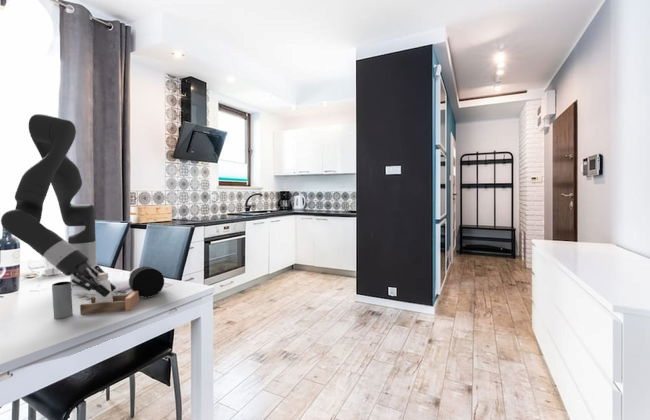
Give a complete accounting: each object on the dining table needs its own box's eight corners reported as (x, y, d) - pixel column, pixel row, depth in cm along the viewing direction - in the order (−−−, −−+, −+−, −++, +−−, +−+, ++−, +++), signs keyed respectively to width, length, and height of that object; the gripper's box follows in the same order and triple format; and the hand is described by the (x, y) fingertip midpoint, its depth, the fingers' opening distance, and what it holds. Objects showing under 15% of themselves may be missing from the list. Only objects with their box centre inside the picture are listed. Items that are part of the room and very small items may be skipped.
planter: (54, 315, 99) (52, 283, 99) (72, 312, 102) (71, 280, 101) (53, 320, 96) (51, 286, 95) (72, 316, 98) (70, 283, 98)
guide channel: (80, 314, 100) (79, 301, 100) (92, 305, 108) (91, 294, 107) (130, 310, 103) (130, 298, 103) (138, 302, 111) (138, 290, 111)
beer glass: (38, 276, 147) (36, 243, 146) (50, 272, 154) (48, 241, 153) (54, 275, 147) (52, 243, 146) (65, 271, 154) (63, 241, 153)
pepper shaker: (98, 310, 101) (97, 276, 100) (91, 307, 104) (89, 274, 103) (117, 305, 106) (116, 272, 105) (109, 302, 109) (108, 270, 108)
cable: (142, 288, 142) (153, 266, 145) (156, 300, 115) (169, 273, 118) (118, 281, 136) (129, 259, 139) (126, 292, 109) (140, 264, 112)
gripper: (62, 253, 95) (110, 290, 99) (86, 245, 109) (127, 278, 112) (42, 272, 94) (91, 308, 98) (69, 261, 108) (111, 294, 112)
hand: (110, 292), depth 105 cm, fingers closed on pepper shaker, 4 cm apart
